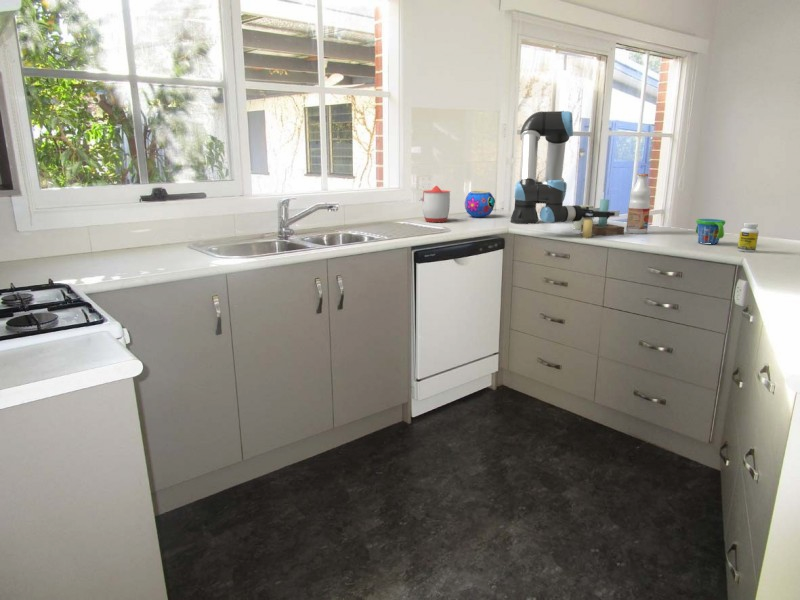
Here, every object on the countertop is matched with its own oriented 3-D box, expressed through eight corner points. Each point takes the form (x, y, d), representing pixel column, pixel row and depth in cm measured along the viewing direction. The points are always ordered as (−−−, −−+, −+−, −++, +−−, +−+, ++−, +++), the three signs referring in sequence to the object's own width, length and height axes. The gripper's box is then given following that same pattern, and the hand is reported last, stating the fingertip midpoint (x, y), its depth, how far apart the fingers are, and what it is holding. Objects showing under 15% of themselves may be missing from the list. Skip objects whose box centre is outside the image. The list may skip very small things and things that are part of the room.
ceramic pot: (492, 219, 326) (493, 193, 322) (462, 218, 330) (463, 192, 326) (495, 215, 342) (496, 190, 338) (466, 215, 346) (466, 190, 342)
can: (588, 230, 281) (590, 206, 278) (570, 228, 286) (572, 205, 283) (594, 228, 288) (596, 204, 285) (577, 226, 293) (578, 203, 290)
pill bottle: (736, 251, 222) (741, 223, 219) (737, 249, 227) (742, 221, 224) (755, 253, 218) (759, 224, 216) (755, 250, 223) (760, 223, 221)
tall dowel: (595, 232, 272) (598, 199, 268) (602, 232, 274) (605, 199, 269) (600, 233, 269) (604, 200, 265) (607, 233, 270) (611, 199, 266)
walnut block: (580, 231, 276) (581, 224, 275) (604, 230, 280) (605, 223, 279) (598, 235, 263) (599, 228, 262) (623, 234, 267) (624, 226, 266)
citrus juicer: (419, 219, 324) (419, 184, 319) (449, 219, 323) (449, 184, 318) (418, 223, 309) (419, 186, 304) (450, 223, 308) (451, 186, 303)
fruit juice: (624, 231, 277) (630, 173, 269) (644, 231, 275) (651, 173, 267) (627, 234, 268) (634, 174, 260) (648, 234, 266) (655, 174, 259)
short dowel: (580, 236, 260) (581, 219, 258) (587, 236, 261) (589, 219, 259) (585, 238, 256) (587, 220, 254) (593, 237, 257) (594, 220, 255)
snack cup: (686, 240, 248) (689, 217, 245) (710, 240, 248) (713, 217, 245) (704, 246, 233) (708, 222, 230) (730, 246, 233) (733, 222, 230)
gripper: (556, 218, 276) (592, 216, 282) (587, 224, 253) (626, 222, 259) (557, 203, 274) (594, 201, 280) (588, 208, 251) (627, 206, 257)
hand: (609, 212), depth 269 cm, fingers open, 13 cm apart
